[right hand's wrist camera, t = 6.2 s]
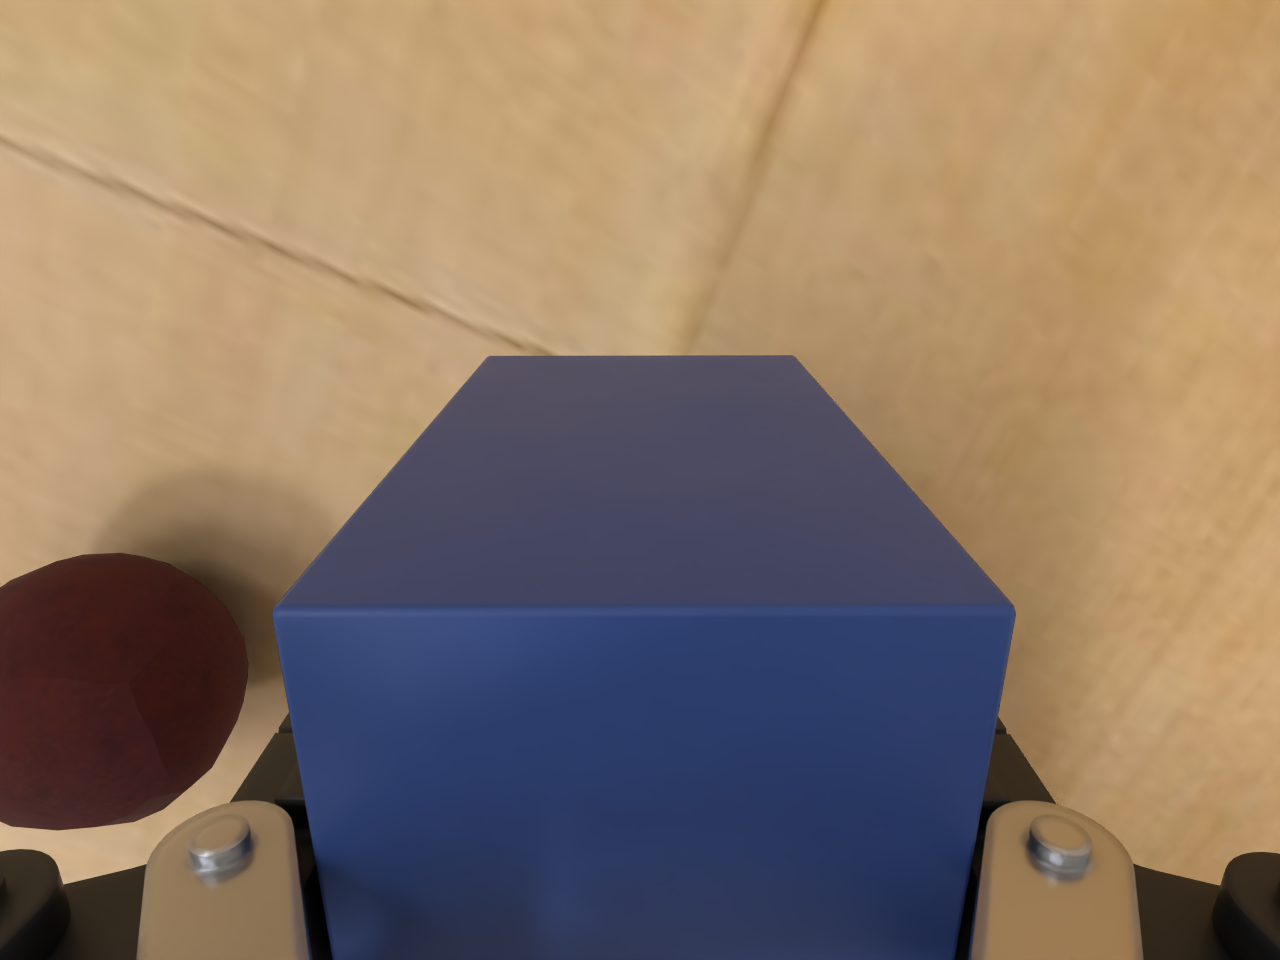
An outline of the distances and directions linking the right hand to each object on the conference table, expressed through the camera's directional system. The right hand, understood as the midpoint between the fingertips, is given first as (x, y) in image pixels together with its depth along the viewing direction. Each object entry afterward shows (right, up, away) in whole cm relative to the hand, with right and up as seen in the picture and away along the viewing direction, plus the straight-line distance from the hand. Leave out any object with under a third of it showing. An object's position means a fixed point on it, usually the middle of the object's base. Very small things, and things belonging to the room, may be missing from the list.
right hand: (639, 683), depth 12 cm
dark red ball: (-15, -2, +15) cm, 21 cm away
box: (0, -6, +8) cm, 10 cm away
